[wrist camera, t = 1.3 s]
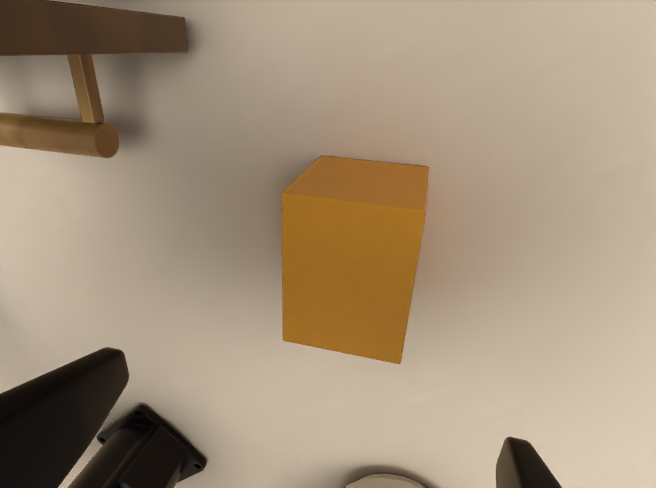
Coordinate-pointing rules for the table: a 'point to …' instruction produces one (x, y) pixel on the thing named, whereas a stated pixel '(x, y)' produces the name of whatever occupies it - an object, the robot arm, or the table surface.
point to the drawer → (78, 65)
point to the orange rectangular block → (352, 255)
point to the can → (385, 482)
